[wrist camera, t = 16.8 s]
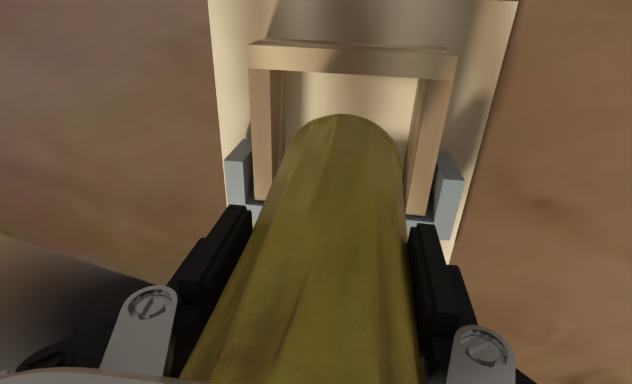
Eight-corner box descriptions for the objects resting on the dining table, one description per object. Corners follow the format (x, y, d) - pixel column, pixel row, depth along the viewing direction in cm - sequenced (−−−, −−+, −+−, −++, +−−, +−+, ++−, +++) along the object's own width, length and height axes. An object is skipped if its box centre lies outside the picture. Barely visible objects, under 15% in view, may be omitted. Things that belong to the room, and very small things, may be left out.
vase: (355, 85, 17) (307, 346, 4) (425, 183, 18) (543, 574, 6) (260, 157, 19) (44, 464, 6) (330, 238, 21) (271, 600, 8)
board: (240, 237, 33) (214, 286, 28) (221, -10, 24) (175, -14, 18) (439, 258, 32) (455, 315, 26) (503, 1, 22) (550, 1, 17)
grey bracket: (246, 190, 28) (228, 218, 24) (243, 138, 26) (223, 160, 22) (438, 208, 26) (449, 240, 23) (451, 155, 24) (465, 181, 21)
